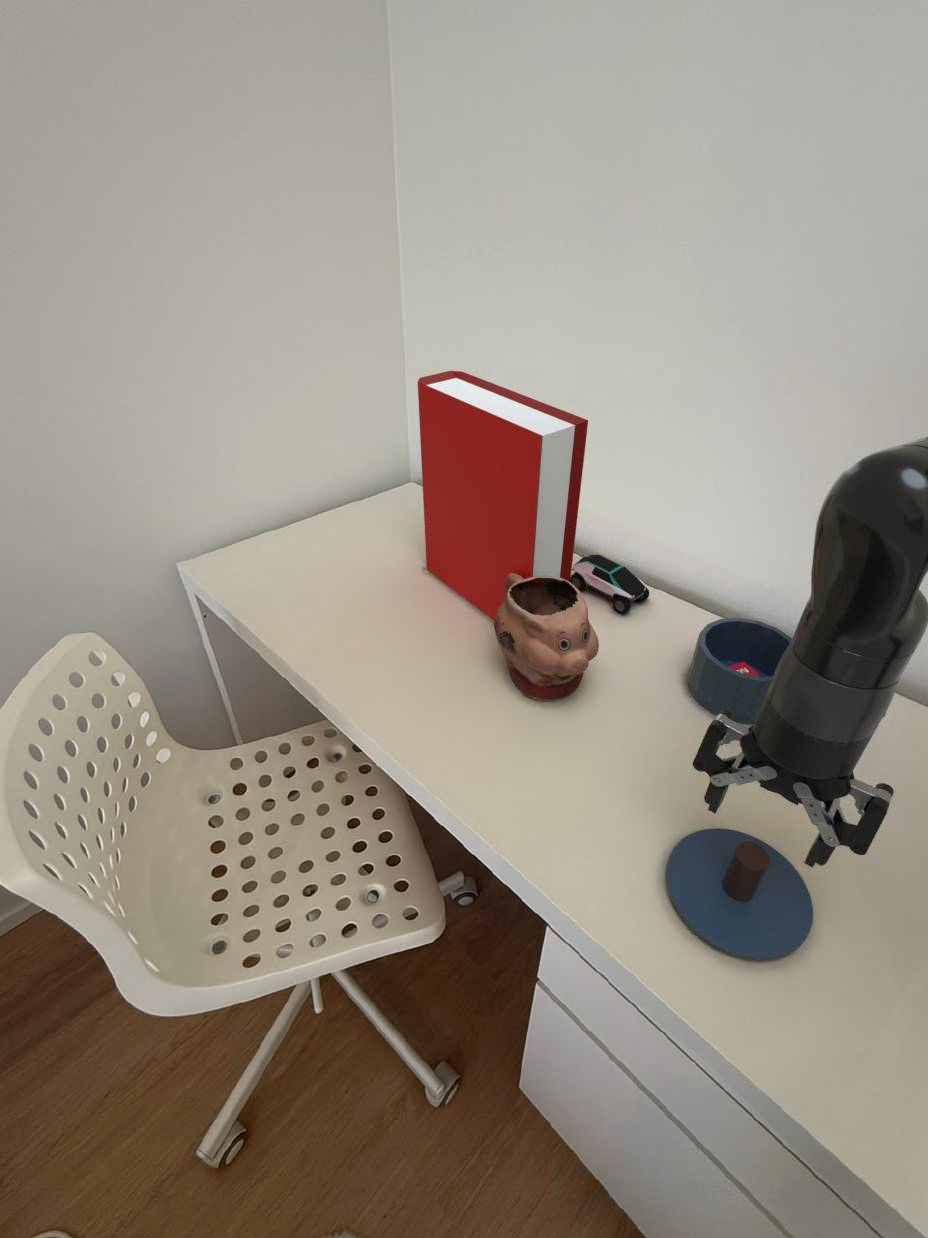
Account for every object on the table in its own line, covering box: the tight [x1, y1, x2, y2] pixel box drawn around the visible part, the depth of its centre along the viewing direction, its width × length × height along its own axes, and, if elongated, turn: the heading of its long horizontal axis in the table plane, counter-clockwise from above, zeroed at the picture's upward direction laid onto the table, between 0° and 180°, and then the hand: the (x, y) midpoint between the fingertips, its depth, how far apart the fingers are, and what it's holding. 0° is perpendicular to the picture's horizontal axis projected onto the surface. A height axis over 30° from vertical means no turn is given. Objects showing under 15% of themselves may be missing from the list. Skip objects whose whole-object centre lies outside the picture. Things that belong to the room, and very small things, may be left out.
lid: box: [665, 827, 814, 962], centre depth 62 cm, size 14×14×7 cm
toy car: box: [570, 554, 650, 615], centre depth 104 cm, size 6×12×5 cm, turn 42°
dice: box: [729, 662, 760, 676], centre depth 86 cm, size 3×3×3 cm
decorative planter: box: [493, 573, 600, 701], centre depth 87 cm, size 20×12×14 cm, turn 30°
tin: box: [687, 617, 793, 725], centre depth 85 cm, size 13×13×8 cm
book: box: [417, 370, 589, 621], centre depth 97 cm, size 27×8×32 cm, turn 37°
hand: (761, 831), depth 58 cm, fingers open, 8 cm apart
